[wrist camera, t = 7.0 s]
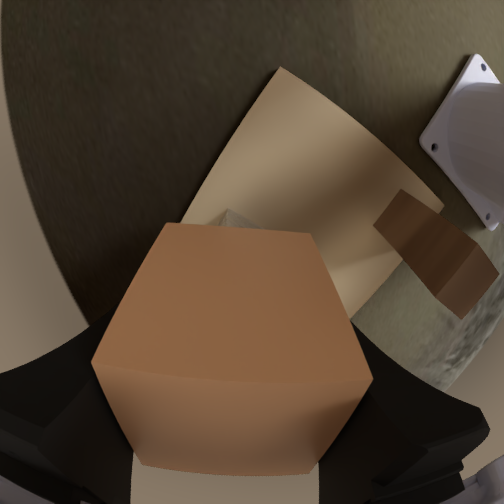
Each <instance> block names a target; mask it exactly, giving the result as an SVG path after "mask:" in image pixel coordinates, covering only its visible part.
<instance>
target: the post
mask: <svg viewBox="0 0 504 504" xmlns="http://www.w3.org/2000/svg"><path fill="white" fill-rule="evenodd" d="M373 226H374V227H375V228H376V230H377V231H378V232H379V233H380V234H381V235H382V236H383V237H384V238H385V239H386V240H387V241H388V243H389V244H390V245H391V246H392V247H393V248H394V249H395V250H396V252H397V253H398V254H399V255H400V256H401V257H402V258H403V259H404V261H405V262H406V263H407V264H408V265H409V266H410V268H411V269H412V270H413V271H414V272H415V274H416V275H417V276H418V277H419V278H420V280H421V281H422V282H423V283H424V284H425V286H426V287H427V288H428V289H429V291H430V292H431V293H432V294H433V296H434V297H435V298H436V299H438V300H439V301H440V302H441V303H442V304H444V305H445V306H446V307H447V308H448V309H450V310H451V311H452V312H453V313H454V314H455V315H457V316H458V317H459V318H460V319H461V320H462V319H463V318H464V317H465V316H466V314H467V313H468V312H469V311H470V310H471V309H472V308H473V306H474V305H475V304H476V303H477V302H478V301H479V299H480V298H481V297H482V296H483V295H484V293H485V292H486V291H487V290H488V288H489V287H490V286H491V285H492V283H493V282H494V281H495V279H496V278H497V277H498V275H499V273H498V271H497V270H496V268H495V267H494V265H493V264H492V262H491V261H490V260H489V258H488V257H487V255H486V254H485V253H484V251H483V250H482V248H481V247H480V246H479V244H478V243H476V242H475V241H474V240H473V239H471V238H470V237H469V236H468V235H466V234H465V233H464V232H462V231H461V230H460V229H458V228H457V227H456V226H454V225H453V224H452V223H450V222H449V221H448V220H446V219H445V218H444V217H442V216H441V215H439V214H438V213H436V212H435V211H434V210H432V209H431V208H429V207H428V206H426V205H425V204H423V203H422V202H420V201H419V200H417V199H416V198H414V197H413V196H411V195H410V194H408V193H407V192H405V191H404V190H402V189H400V190H399V192H398V193H397V194H396V196H395V197H394V198H393V200H392V201H391V202H390V204H389V205H388V206H387V208H386V209H385V210H384V212H383V213H382V214H381V215H380V217H379V218H378V219H377V221H376V222H375V223H374V224H373Z"/></svg>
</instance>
